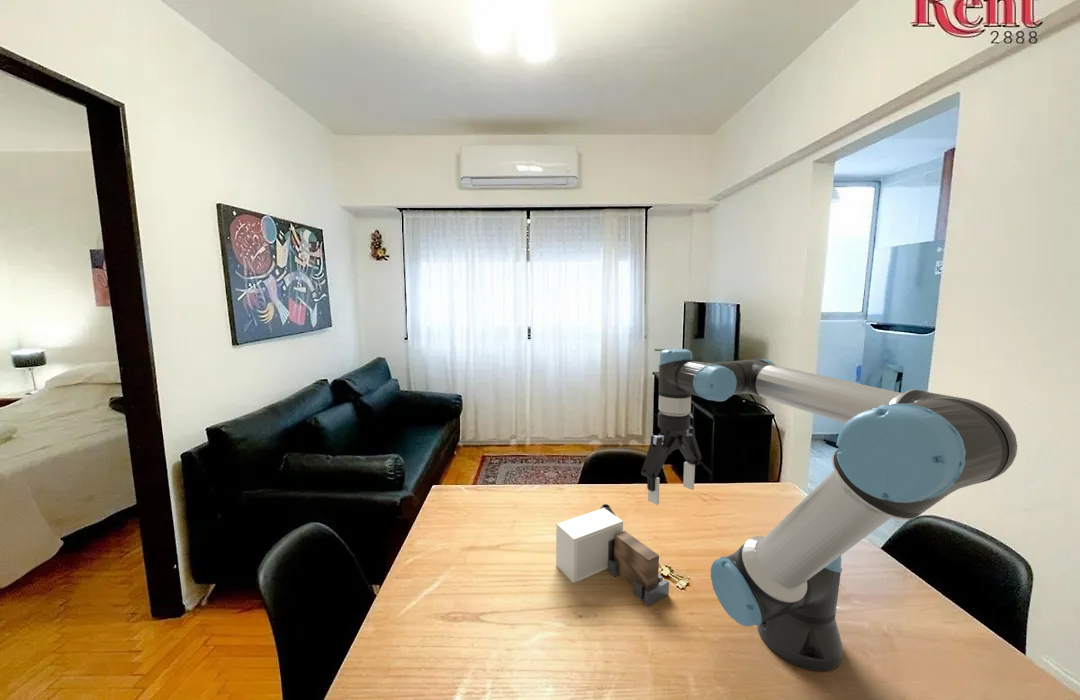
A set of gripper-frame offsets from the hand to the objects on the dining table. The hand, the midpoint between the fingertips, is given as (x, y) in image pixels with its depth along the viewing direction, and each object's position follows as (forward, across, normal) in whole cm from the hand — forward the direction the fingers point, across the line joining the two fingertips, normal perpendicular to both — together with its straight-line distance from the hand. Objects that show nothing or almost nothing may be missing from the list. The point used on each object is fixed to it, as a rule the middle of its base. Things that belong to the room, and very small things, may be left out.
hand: (671, 494), depth 104 cm
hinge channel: (+22, +8, -4) cm, 24 cm away
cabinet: (+22, +14, -16) cm, 30 cm away
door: (+22, +8, -4) cm, 24 cm away
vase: (+22, 0, -24) cm, 32 cm away
